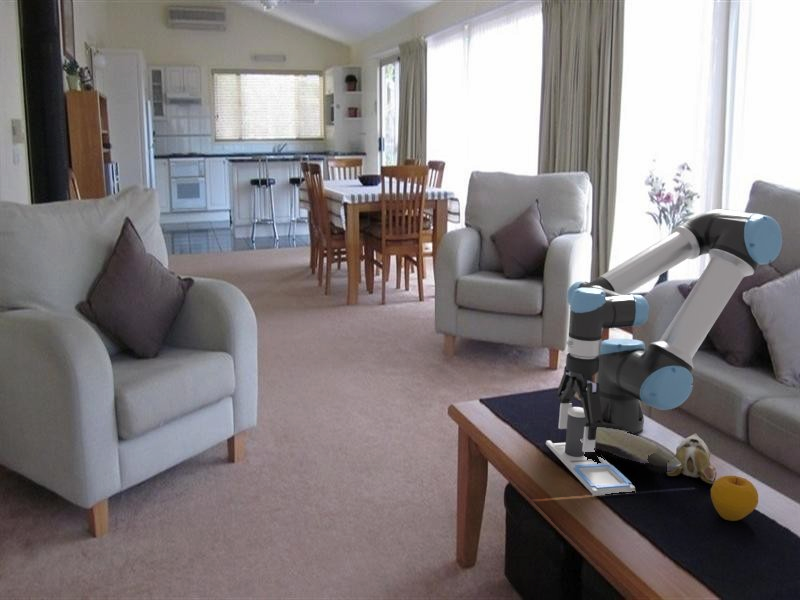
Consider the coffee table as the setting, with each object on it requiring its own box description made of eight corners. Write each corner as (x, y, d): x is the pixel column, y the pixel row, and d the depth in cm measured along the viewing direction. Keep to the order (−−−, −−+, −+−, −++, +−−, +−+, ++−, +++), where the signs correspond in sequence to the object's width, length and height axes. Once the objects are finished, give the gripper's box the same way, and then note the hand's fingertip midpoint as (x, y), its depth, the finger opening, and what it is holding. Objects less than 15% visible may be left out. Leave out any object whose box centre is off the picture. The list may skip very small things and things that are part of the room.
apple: (742, 535, 144) (749, 492, 142) (698, 516, 150) (704, 476, 148) (762, 520, 149) (768, 479, 147) (719, 503, 156) (724, 463, 154)
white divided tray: (582, 443, 184) (583, 437, 184) (635, 492, 159) (636, 485, 159) (545, 445, 182) (545, 439, 182) (592, 496, 157) (593, 489, 157)
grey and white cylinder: (579, 448, 180) (583, 406, 178) (588, 456, 176) (592, 413, 173) (561, 449, 179) (564, 407, 177) (569, 457, 175) (573, 414, 172)
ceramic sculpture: (720, 431, 172) (718, 459, 159) (716, 464, 174) (714, 495, 161) (672, 423, 176) (666, 450, 163) (668, 455, 178) (662, 485, 165)
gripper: (547, 340, 183) (541, 420, 188) (592, 372, 159) (583, 463, 164) (575, 339, 184) (568, 418, 189) (624, 370, 161) (615, 461, 165)
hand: (575, 439), depth 177 cm, fingers open, 13 cm apart
